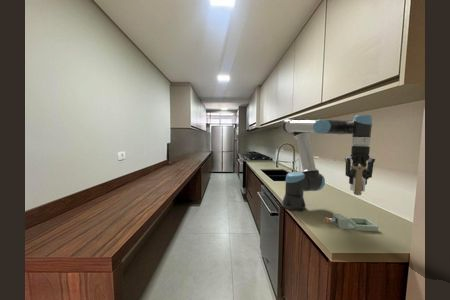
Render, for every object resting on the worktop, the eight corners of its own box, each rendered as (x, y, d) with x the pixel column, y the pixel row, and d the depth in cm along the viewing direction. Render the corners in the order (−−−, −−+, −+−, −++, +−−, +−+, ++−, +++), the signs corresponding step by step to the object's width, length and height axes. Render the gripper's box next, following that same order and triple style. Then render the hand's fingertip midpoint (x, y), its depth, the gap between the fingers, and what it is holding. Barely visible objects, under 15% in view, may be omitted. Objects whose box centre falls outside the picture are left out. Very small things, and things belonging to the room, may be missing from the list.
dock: (331, 220, 105) (332, 212, 105) (365, 222, 104) (365, 214, 104) (341, 229, 96) (341, 220, 95) (377, 231, 94) (378, 222, 94)
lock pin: (324, 221, 102) (324, 215, 102) (337, 222, 102) (337, 216, 102) (327, 224, 99) (327, 218, 99) (340, 224, 99) (341, 219, 99)
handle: (348, 192, 99) (349, 165, 97) (363, 193, 96) (364, 165, 95) (351, 195, 94) (352, 166, 93) (366, 196, 92) (367, 167, 91)
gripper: (346, 145, 91) (343, 191, 92) (384, 146, 89) (380, 193, 90) (339, 144, 98) (336, 187, 100) (373, 145, 96) (370, 189, 98)
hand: (357, 190), depth 95 cm, fingers closed on handle, 4 cm apart
